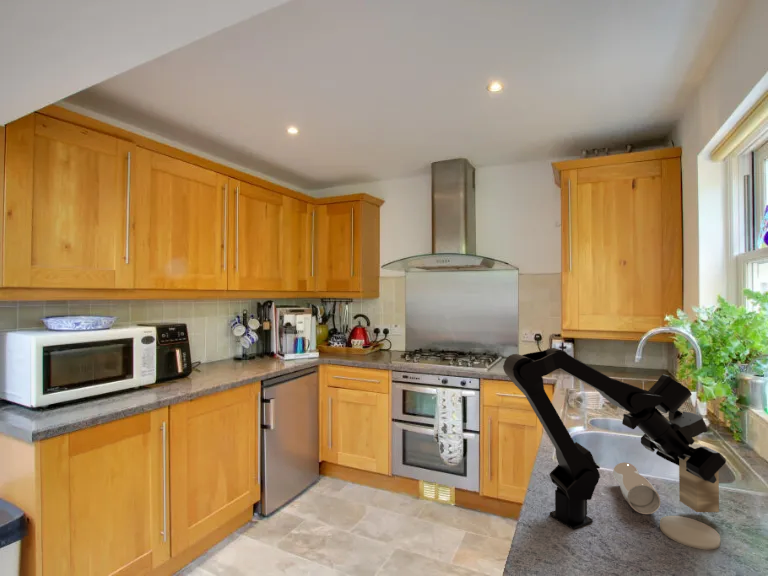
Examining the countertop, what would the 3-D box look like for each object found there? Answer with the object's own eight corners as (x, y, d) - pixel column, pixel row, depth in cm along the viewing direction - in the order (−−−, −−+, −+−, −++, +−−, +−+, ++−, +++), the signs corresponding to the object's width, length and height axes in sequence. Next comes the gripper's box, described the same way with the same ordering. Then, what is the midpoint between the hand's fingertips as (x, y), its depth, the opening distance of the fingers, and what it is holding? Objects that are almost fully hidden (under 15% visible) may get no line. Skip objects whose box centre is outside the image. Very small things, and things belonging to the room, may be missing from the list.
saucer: (703, 555, 77) (703, 548, 78) (649, 528, 86) (649, 522, 86) (730, 541, 82) (730, 535, 82) (676, 516, 91) (676, 511, 91)
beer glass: (629, 455, 106) (647, 478, 92) (647, 480, 104) (668, 506, 90) (605, 468, 107) (619, 492, 93) (622, 492, 106) (640, 521, 92)
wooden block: (696, 512, 89) (696, 452, 89) (679, 500, 94) (678, 444, 94) (719, 512, 89) (718, 452, 89) (700, 500, 94) (699, 444, 94)
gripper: (716, 413, 82) (769, 468, 83) (652, 392, 101) (695, 436, 101) (679, 453, 82) (732, 507, 82) (621, 424, 100) (664, 468, 101)
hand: (704, 476), depth 92 cm, fingers closed on wooden block, 5 cm apart
